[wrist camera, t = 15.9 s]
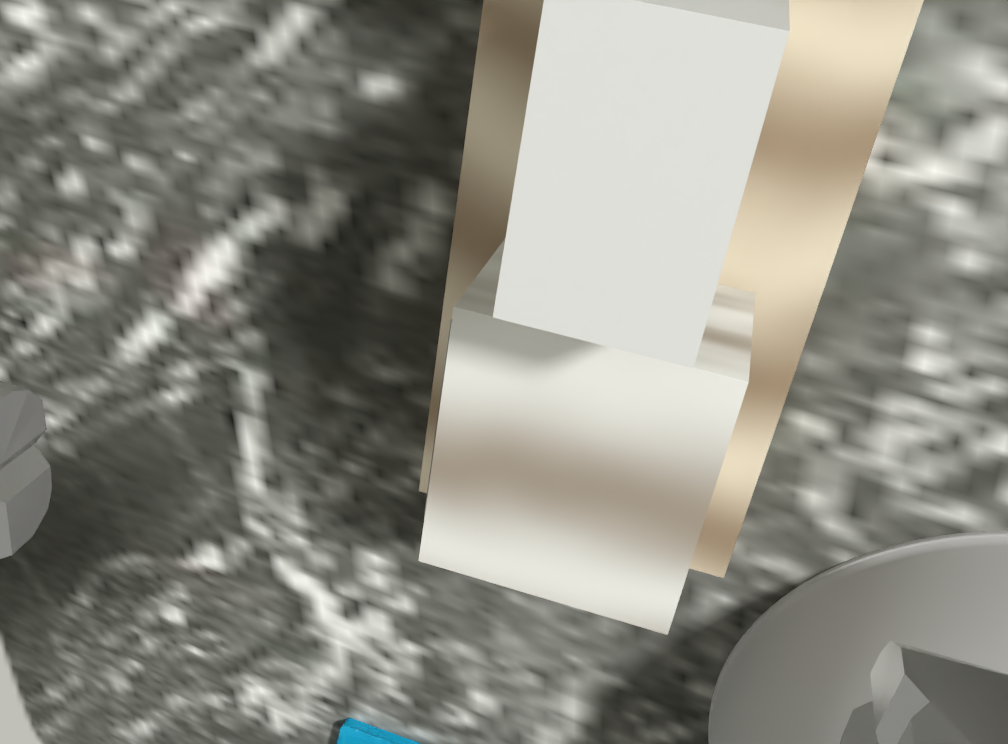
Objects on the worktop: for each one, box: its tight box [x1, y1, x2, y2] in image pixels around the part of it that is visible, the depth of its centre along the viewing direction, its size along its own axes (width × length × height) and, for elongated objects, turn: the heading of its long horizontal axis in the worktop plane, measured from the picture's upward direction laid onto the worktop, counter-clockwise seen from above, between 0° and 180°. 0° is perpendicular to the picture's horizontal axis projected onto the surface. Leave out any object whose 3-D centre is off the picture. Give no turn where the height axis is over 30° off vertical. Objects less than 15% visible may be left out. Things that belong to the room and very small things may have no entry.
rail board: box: [419, 0, 924, 635], centre depth 26 cm, size 34×12×8 cm, turn 171°
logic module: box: [493, 0, 790, 368], centre depth 24 cm, size 5×7×10 cm, turn 171°
